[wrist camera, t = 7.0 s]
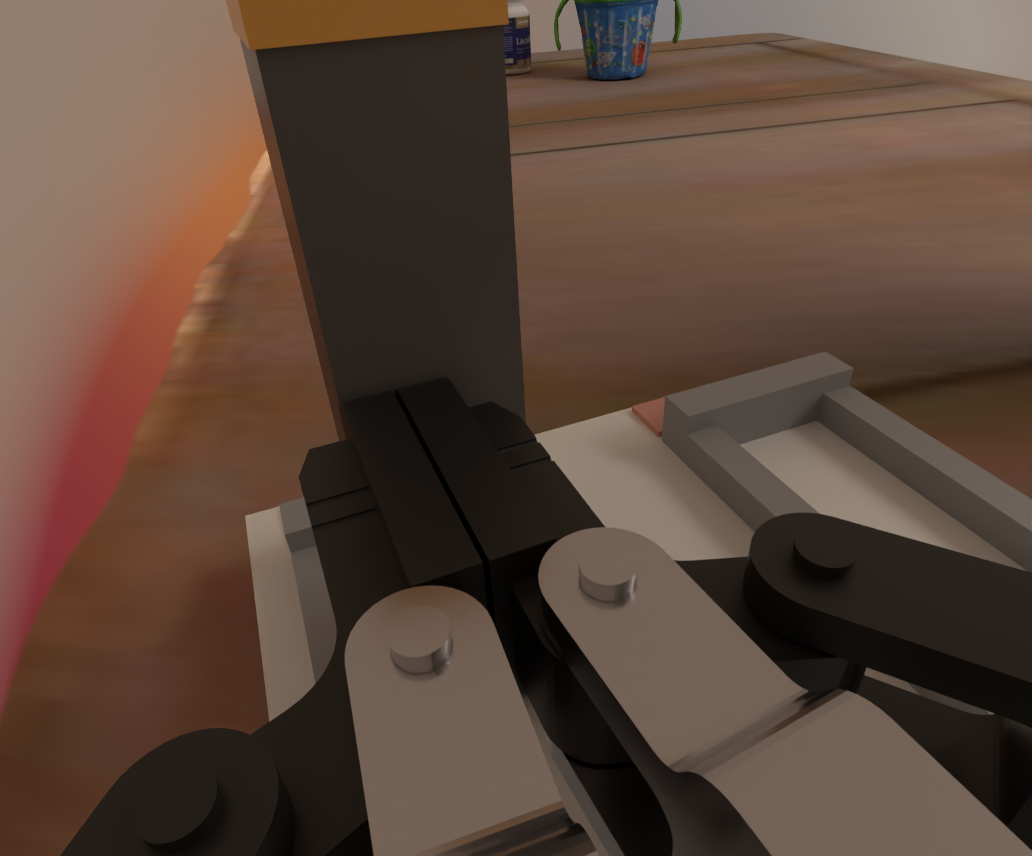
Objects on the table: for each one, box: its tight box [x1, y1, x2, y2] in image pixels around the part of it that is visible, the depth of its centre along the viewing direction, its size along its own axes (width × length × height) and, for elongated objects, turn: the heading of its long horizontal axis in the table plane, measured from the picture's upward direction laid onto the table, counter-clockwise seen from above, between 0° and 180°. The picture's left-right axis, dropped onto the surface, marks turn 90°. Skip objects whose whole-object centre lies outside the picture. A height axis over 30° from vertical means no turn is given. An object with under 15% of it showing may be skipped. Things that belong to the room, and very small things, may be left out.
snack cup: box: [554, 0, 682, 80], centre depth 86 cm, size 16×10×10 cm
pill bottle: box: [503, 0, 531, 75], centre depth 94 cm, size 6×6×10 cm
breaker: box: [226, 0, 527, 697], centre depth 11 cm, size 3×3×13 cm
